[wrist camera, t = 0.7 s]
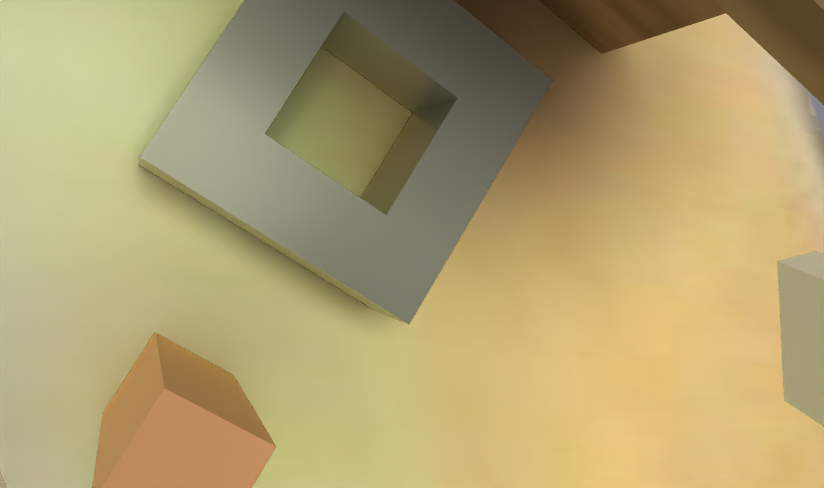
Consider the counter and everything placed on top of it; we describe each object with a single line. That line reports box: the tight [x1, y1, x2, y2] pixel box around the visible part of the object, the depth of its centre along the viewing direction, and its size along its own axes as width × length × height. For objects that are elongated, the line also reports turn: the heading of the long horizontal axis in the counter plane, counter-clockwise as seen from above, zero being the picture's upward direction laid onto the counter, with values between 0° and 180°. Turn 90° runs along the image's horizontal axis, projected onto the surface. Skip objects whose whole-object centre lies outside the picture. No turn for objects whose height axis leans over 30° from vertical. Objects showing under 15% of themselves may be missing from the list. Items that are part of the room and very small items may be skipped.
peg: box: [92, 333, 276, 488], centre depth 31 cm, size 4×4×12 cm
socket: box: [139, 0, 553, 324], centre depth 36 cm, size 14×14×6 cm
